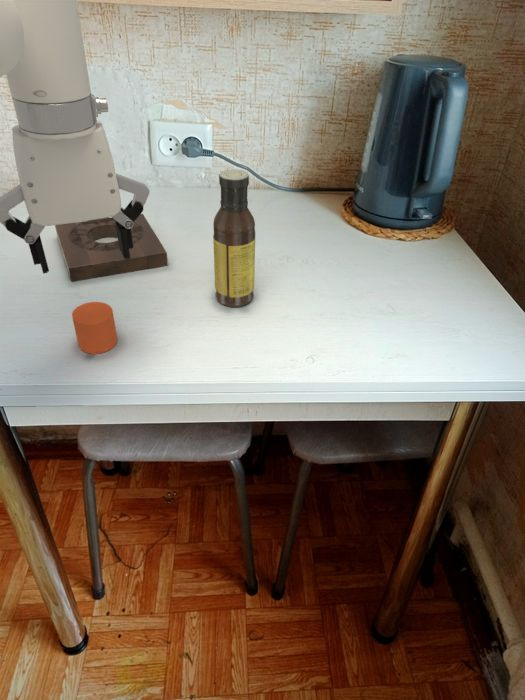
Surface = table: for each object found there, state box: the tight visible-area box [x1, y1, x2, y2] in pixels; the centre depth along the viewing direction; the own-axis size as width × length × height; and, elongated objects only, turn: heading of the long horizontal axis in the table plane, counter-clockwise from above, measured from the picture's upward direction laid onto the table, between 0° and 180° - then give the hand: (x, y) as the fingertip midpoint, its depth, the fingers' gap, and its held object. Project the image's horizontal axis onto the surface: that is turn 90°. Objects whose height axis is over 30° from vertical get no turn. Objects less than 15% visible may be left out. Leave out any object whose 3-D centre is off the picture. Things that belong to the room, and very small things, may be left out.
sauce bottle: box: [212, 169, 256, 308], centre depth 75 cm, size 6×6×20 cm
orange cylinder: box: [71, 301, 118, 355], centre depth 69 cm, size 5×5×5 cm
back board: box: [54, 213, 169, 282], centre depth 90 cm, size 16×16×2 cm
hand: (85, 260), depth 63 cm, fingers open, 9 cm apart
